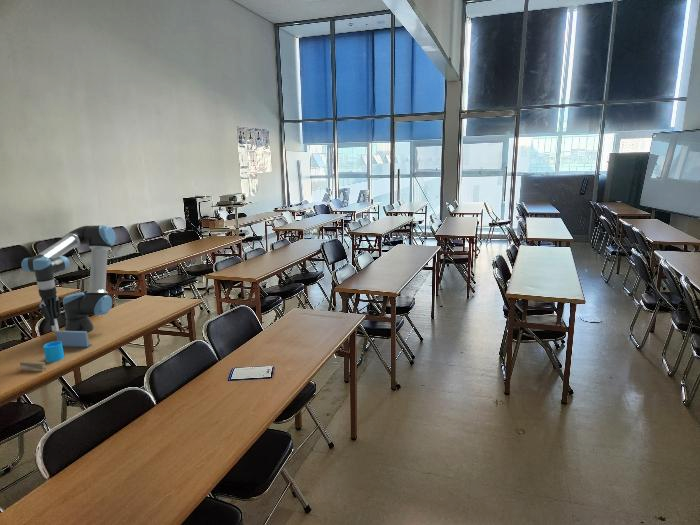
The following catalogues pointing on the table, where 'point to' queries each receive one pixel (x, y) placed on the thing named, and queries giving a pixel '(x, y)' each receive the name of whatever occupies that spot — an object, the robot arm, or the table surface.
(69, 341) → the screen
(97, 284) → the robot arm
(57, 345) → the mug
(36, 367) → the block
